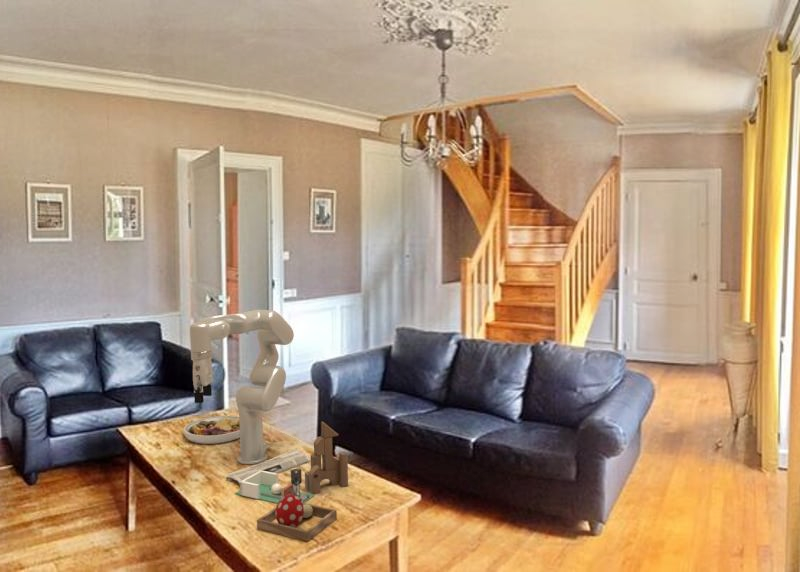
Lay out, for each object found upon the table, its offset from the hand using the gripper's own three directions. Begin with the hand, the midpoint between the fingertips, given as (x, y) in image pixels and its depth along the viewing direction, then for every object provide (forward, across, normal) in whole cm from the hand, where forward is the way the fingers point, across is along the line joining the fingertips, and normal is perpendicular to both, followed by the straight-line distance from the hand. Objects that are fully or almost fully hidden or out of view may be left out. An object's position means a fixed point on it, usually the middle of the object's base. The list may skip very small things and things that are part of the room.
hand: (203, 399), depth 241 cm
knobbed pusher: (+33, -16, -38) cm, 53 cm away
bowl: (+34, +56, +13) cm, 66 cm away
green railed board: (+33, -12, -29) cm, 46 cm away
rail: (+33, -14, -33) cm, 49 cm away
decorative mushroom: (+34, -35, -41) cm, 63 cm away
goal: (+33, -9, -22) cm, 41 cm away
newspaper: (+34, +12, -22) cm, 42 cm away
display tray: (+33, -35, -41) cm, 63 cm away
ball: (+31, -12, -30) cm, 45 cm away
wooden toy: (+33, -6, -48) cm, 58 cm away
